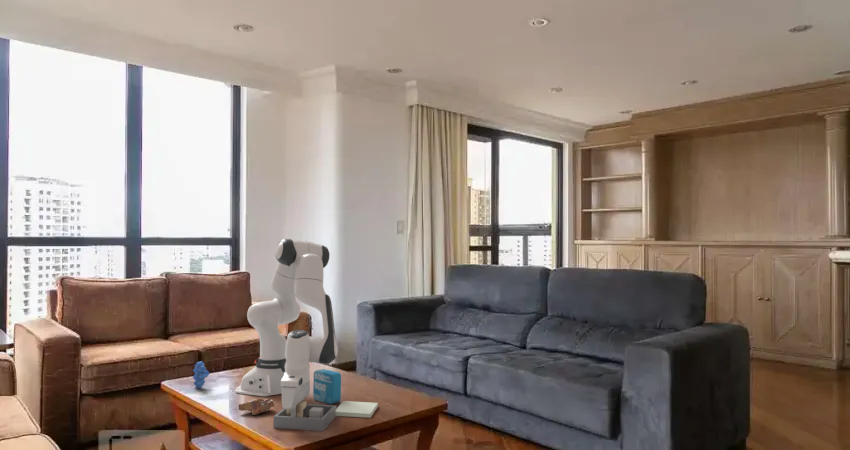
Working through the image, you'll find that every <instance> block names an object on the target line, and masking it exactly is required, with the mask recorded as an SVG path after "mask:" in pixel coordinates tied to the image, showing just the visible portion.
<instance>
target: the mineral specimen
mask: <svg viewBox="0 0 850 450" xmlns="http://www.w3.org/2000/svg"><path fill="white" fill-rule="evenodd" d="M273 407H275V402H274V400H273V399H271V398H266V399H262V398H257V399H254V398H253V399H251V400H248V401H246V402H242V403H239V404H238V411H241V412H244V411H247V412H248V411H249V412H251V413H252V416H256V415H259V414H262V413H267V412H269V411H270V410H271V408H273Z"/></svg>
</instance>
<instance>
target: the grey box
mask: <svg viewBox="0 0 850 450" xmlns="http://www.w3.org/2000/svg"><path fill="white" fill-rule="evenodd" d="M323 409H324V408H319V407H313V408H311V409H310V410H309V416H308V418H322V417H323Z"/></svg>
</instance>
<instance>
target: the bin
mask: <svg viewBox="0 0 850 450" xmlns="http://www.w3.org/2000/svg"><path fill="white" fill-rule="evenodd" d="M313 407H319V408H324V409H323V417H322V418H309V410H310V409H311V408H313ZM336 409H337V405H330V404H328V405H327V404H311V403H310V404H307V403H306V417H290V416H286V413H287V409H283V408H282V409H281V410H279V411H278V412H277V413H276V414H274V415H273V425H272V426H273V429H285V430H287V429H288V430H303V431H315V432H316V431H317V432H319V431H320V432H324V431H325V430H326V428H327V427H328V426H329V425H330V424H331V422H332V421H333V420H334V419H335V418H336V417H337V416H336Z"/></svg>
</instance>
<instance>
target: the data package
mask: <svg viewBox="0 0 850 450" xmlns="http://www.w3.org/2000/svg"><path fill="white" fill-rule="evenodd" d="M312 386H313V389H312V394H313V395H312V397H313V399H314V400H315V401H319V402H322V403H324V404H328V405H334V404H336V403H340V402H341V400H342V399H341V398H342V375H341V373H340V372H339V371H334V370H330V369H327V368H326V369H325V368H321V369H317V370H315V371H314V372H313V385H312Z"/></svg>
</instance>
